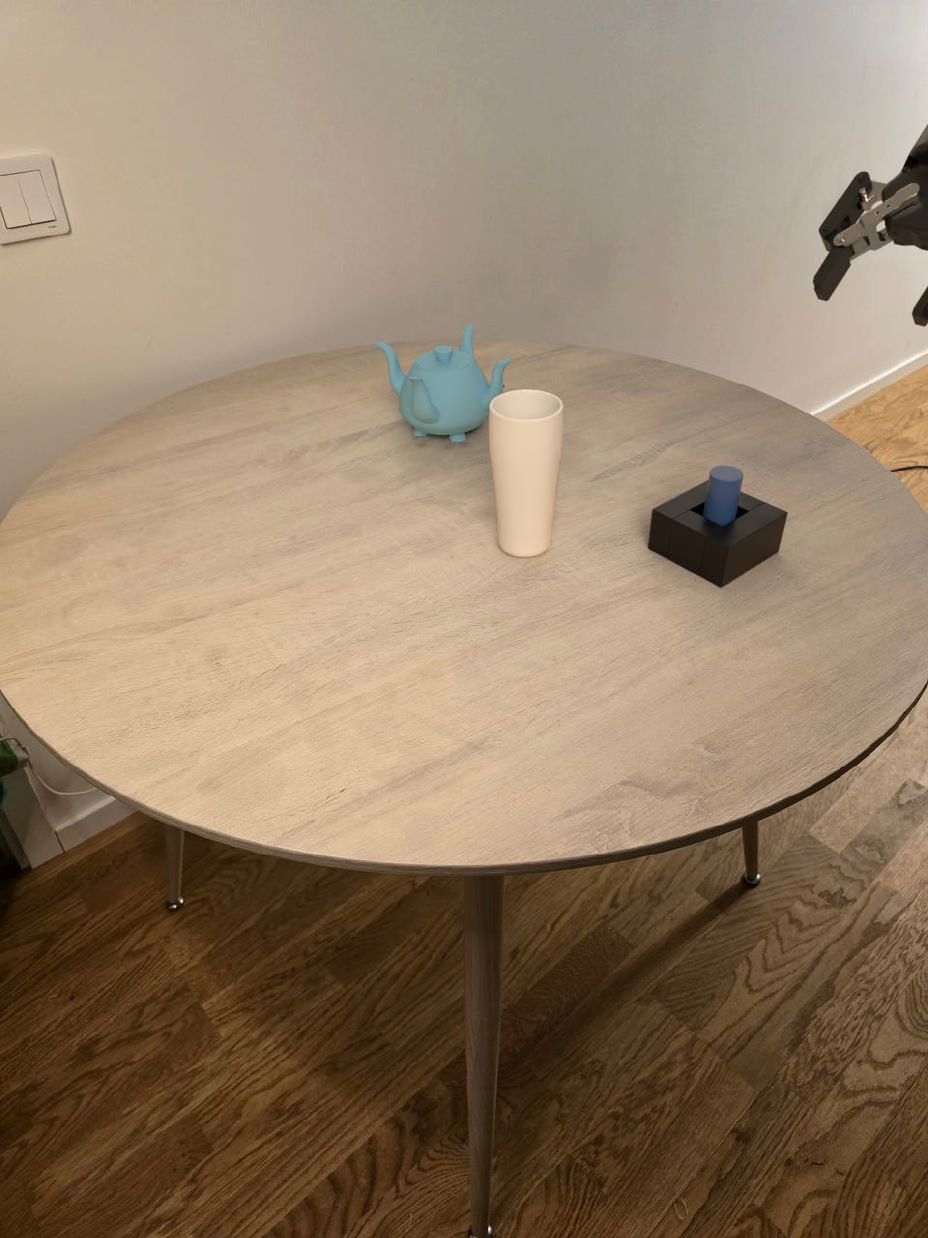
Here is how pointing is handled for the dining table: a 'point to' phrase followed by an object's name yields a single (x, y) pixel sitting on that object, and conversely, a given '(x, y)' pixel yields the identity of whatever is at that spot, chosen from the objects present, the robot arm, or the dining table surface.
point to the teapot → (444, 389)
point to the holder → (716, 535)
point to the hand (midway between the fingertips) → (867, 307)
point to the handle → (723, 494)
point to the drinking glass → (525, 467)
